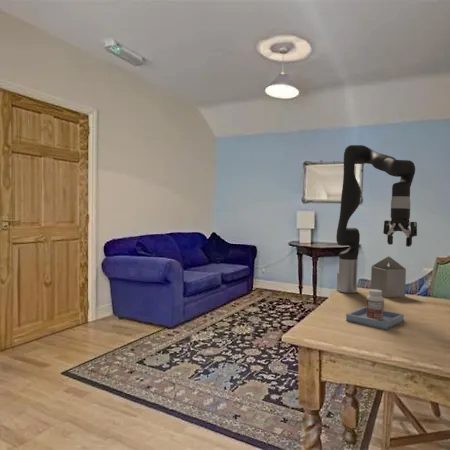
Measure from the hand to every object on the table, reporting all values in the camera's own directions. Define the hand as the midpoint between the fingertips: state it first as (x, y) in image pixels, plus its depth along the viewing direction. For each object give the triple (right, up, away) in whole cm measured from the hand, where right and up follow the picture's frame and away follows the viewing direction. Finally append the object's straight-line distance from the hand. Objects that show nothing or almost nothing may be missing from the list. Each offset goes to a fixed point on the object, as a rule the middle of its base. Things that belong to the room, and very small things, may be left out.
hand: (399, 245), depth 165 cm
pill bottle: (-16, -28, -14) cm, 35 cm away
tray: (-16, -29, -14) cm, 35 cm away
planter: (+7, -27, +29) cm, 40 cm away
